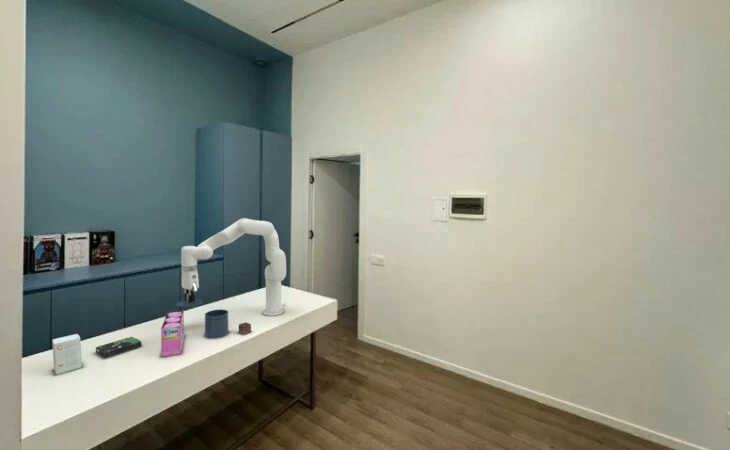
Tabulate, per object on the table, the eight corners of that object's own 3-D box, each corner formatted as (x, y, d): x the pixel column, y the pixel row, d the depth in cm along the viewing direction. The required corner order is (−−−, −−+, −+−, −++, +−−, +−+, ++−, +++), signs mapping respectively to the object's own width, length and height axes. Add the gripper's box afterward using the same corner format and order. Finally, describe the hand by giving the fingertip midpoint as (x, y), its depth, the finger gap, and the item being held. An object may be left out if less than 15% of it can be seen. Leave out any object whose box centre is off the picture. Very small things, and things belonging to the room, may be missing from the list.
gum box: (167, 336, 166) (167, 311, 165) (185, 334, 169) (184, 309, 168) (161, 357, 144) (160, 328, 143) (181, 354, 148) (180, 325, 147)
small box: (79, 362, 139) (78, 333, 138) (82, 367, 134) (80, 337, 134) (53, 369, 132) (51, 339, 131) (55, 375, 128) (54, 343, 127)
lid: (194, 299, 185) (194, 289, 185) (206, 303, 178) (206, 293, 178) (172, 305, 175) (172, 294, 175) (184, 309, 168) (184, 298, 168)
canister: (220, 328, 178) (220, 308, 178) (232, 333, 172) (232, 312, 171) (200, 334, 169) (200, 313, 168) (212, 340, 163) (212, 318, 162)
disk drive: (104, 359, 142) (142, 346, 155) (104, 353, 142) (141, 340, 154) (95, 353, 147) (132, 341, 160) (95, 347, 147) (131, 335, 160)
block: (245, 330, 177) (245, 322, 176) (250, 332, 174) (250, 324, 174) (238, 332, 173) (238, 324, 173) (243, 334, 170) (243, 326, 170)
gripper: (204, 269, 174) (204, 302, 175) (188, 265, 183) (188, 296, 184) (190, 271, 168) (190, 305, 169) (174, 267, 177) (175, 300, 178)
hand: (189, 300), depth 177 cm, fingers closed on lid, 3 cm apart
